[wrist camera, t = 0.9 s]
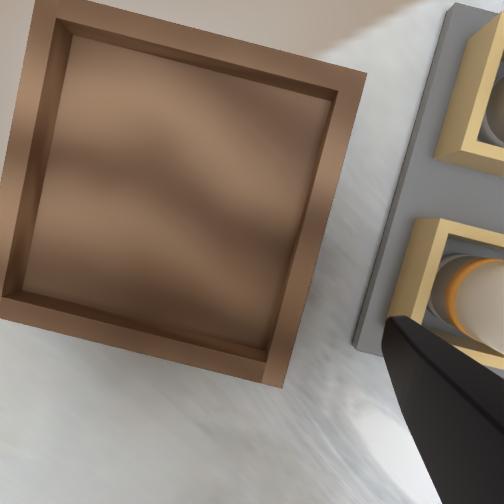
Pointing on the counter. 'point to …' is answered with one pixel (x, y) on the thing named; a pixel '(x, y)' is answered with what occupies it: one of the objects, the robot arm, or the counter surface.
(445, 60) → the block
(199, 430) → the counter surface
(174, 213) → the tray
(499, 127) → the cylinder
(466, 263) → the ball
